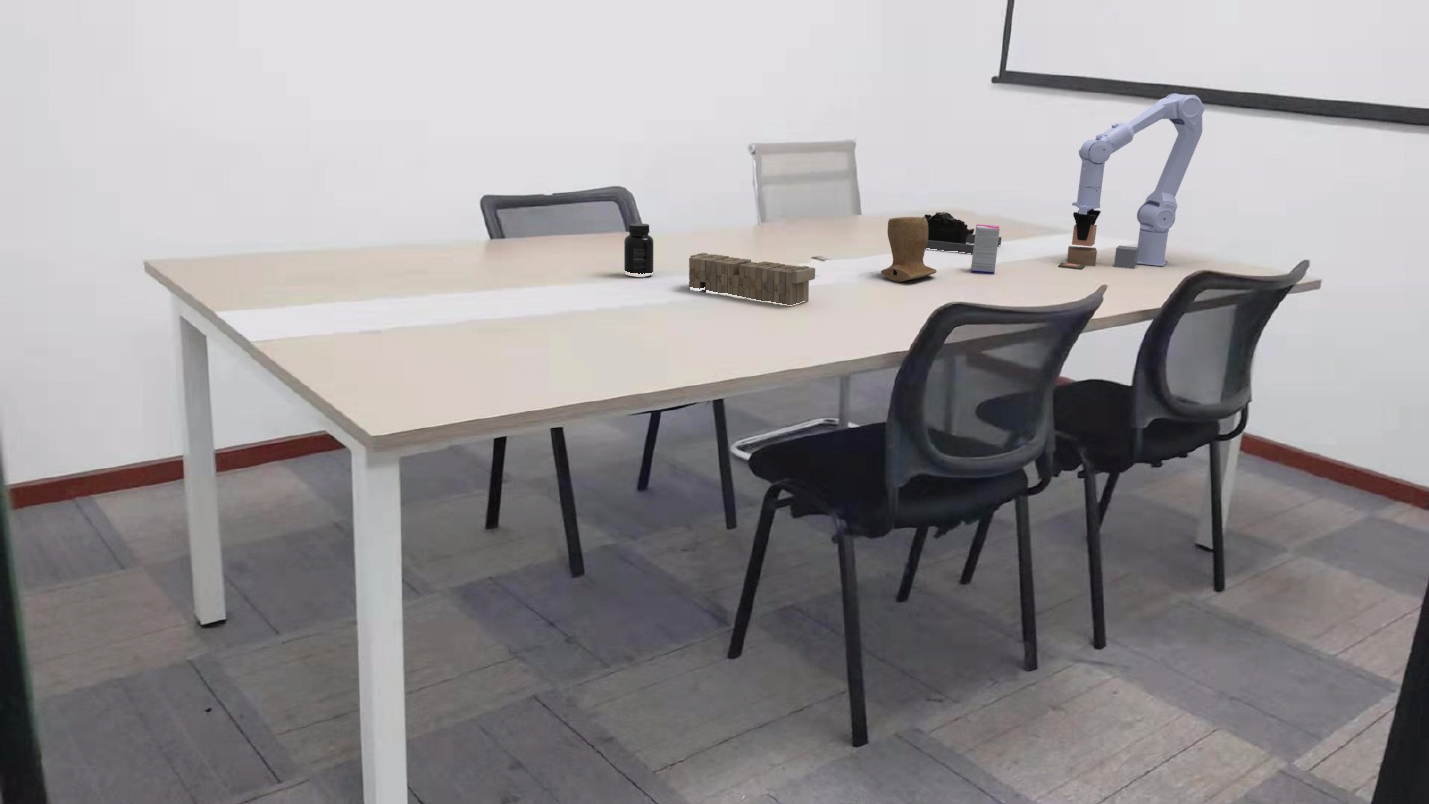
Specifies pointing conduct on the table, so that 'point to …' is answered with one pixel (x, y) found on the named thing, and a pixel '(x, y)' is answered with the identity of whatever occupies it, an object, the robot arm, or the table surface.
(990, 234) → the supplement box
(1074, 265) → the card
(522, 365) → the table surface
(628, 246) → the supplement bottle
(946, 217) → the film camera
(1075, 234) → the terracotta cube
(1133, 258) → the charcoal cube
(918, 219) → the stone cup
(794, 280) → the block tower
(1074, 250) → the walnut block
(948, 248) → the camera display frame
